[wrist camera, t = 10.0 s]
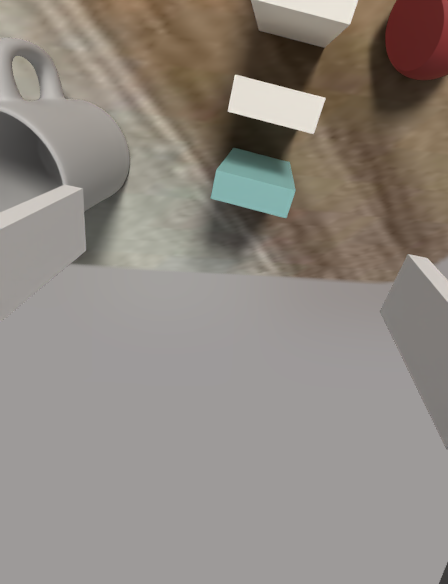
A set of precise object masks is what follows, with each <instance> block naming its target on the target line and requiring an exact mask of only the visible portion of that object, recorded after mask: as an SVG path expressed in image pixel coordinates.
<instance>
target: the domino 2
mask: <svg viewBox="0 0 448 584" xmlns="http://www.w3.org/2000/svg"><path fill="white" fill-rule="evenodd" d="M324 101H325V98H323V97H320V96H316V95H312V94H308V93H304V92H300V91H297V90H293V89H289V88H285V87H281V86H278V85H274V84H270V83H266V82H262V81H258V80H255V79H251V78H247V77H243V76H239V75H235V77H234V82H233V87H232V92H231V97H230V102H229V107H228V112H231V113H235V114H239V115H243V116H246V117H250V118H254V119H258V120H262V121H266V122H269V123H273V124H277V125H281V126H285V127H289V128H292V129H296V130H300V131H304V132H308V133H312V134H314V132H315V129H316V126H317V123H318V120H319V117H320V114H321V111H322V107H323V104H324Z"/></svg>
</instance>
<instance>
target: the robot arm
mask: <svg viewBox="0 0 448 584" xmlns="http://www.w3.org/2000/svg"><path fill="white" fill-rule="evenodd" d="M85 251H86V236H85V217H84V198H83V188H79V187H74V186H69V185H62V186H60V187H58V188H56V189H53V190H51V191H49V192H46V193H44V194H42V195H39V196H37V197H35V198H33V199H30V200H28V201H26V202H23V203H21V204H19V205H16V206H14V207H12V208H10V209H7V210H5V211H3V212H0V322H1V321H2V320H4V319H5V318H6V317H7V316H8V315H10V314H11V313H12V312H13V311H14V310H16V309H17V308H18V307H19V306H21V305H22V304H23V303H24V302H25V301H26V300H28V299H29V298H30V297H31V296H32V295H34V294H35V293H36V292H37V291H38V290H40V289H41V288H42V287H43V286H44V285H46V284H47V283H48V282H49V281H50V280H52V279H53V278H54V277H55V276H56V275H58V274H59V273H60V272H61V271H62V270H64V269H65V268H66V267H67V266H68V265H70V264H71V263H72V262H73V261H74V260H76V259H77V258H78V257H79V256H80V255H82V254H83V253H84V252H85ZM380 313H381V315H382V317H383V319H384V321H385V323H386V325H387V327H388V330H389V332H390V334H391V336H392V338H393V340H394V342H395V344H396V346H397V348H398V350H399V352H400V354H401V356H402V358H403V361H404V362H405V365H406V367H407V369H408V371H409V373H410V375H411V377H412V379H413V381H414V383H415V385H416V387H417V389H418V391H419V394H420V396H421V398H422V400H423V402H424V404H425V406H426V408H427V410H428V412H429V414H430V416H431V418H432V420H433V422H434V425H435V427H436V429H437V431H438V433H439V435H440V437H441V439H442V441H443V443H444V445H445V447H446V449H448V280H447V279H446V278H445V277H444V276H443V275H442V273H441V272H440V271H439V270H438V269H437V268H436V267H435V266H434V265H433V264H432V263H431V262H430V261H429V259H428V258H424V257H419V256H414V255H409V254H408V255H407V257H406V259H405V261H404V263H403V265H402V267H401V269H400V271H399V273H398V275H397V277H396V279H395V281H394V283H393V285H392V288H391V290H390V292H389V294H388V296H387V298H386V300H385V302H384V304H383V306H382V308H381V310H380ZM439 584H448V563H447V566H446V568H445V570H444V573H443V575H442V578H441V580H440V583H439Z"/></svg>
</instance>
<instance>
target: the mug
mask: <svg viewBox="0 0 448 584" xmlns="http://www.w3.org/2000/svg"><path fill="white" fill-rule="evenodd" d="M15 56H22V57H24V58H25V59H27V60H28V61H29V62H30V63H31V64H32V66H33V67H34V69H35V71H36V74H37V76H38V80H39V85H40V98H39V99H38V100H34V101H26V100H24V99H23V98H22V96H21V95H20V93H19V90H18V88H17V86H16V83H15V80H14V76H13V71H12V61H13V58H14V57H15ZM129 166H130V155H129V149H128V145H127V141H126V139H125V136H124V134H123V132H122V130H121V129H120V127H119V126H118V124H117V123H116V121H115V120H114V119H113V118H112V117H111V116H110V115H109V114H108V113H107V112H106V111H104V110H103V109H101V108H100V107H98V106H96V105H95V104H93V103H90V102H88V101H84V100H80V99H65V97H64V94H63V90H62V86H61V82H60V78H59V75H58V72H57V69H56V66H55V64H54V62H53V60H52V58H51V57H50V55H49V54H48V53H47V52H46V51H45V50H44V49H42V48H41V47H39V46H38V45H36V44H34V43H32V42H29V41H27V40H23V39H18V38H10V37H8V38H0V212H3V211H5V210H7V209H10V208H12V207H14V206H16V205H19V204H21V203H23V202H26V201H28V200H30V199H33V198H35V197H37V196H39V195H42V194H44V193H46V192H49V191H51V190H53V189H56V188H58V187H60V186H62V185H69V186H74V187H79V188H83V198H84V212H85V211H86V210H88V209H89V208H91V207H93V206H94V205H96V204H98V203H99V202H101V201H103V200H105V199H106V198H108V197H110V196H112V195H113V194H114V193H116V192H117V191H118V190H119V189H120V188H121V187H122V185H123V184H124V182H125V180H126V178H127V175H128V172H129Z"/></svg>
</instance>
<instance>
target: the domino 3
mask: <svg viewBox="0 0 448 584" xmlns="http://www.w3.org/2000/svg"><path fill="white" fill-rule="evenodd" d="M294 194H295V186H294V181H293V176H292V171H291V166H290V162H287V161H283V160H279V159H276V158H272V157H268V156H264V155H260V154H257V153H253V152H249V151H245V150H241V149H237V148H233V149H232V150H231V152H230V153H229V154H228V155H227V157H226V158H225V159H224V161H223V162H222V163H221V165H220V166H219V167H218V168H217V170H216V174H215V179H214V184H213V189H212V194H211V199H214V200H218V201H222V202H226V203H230V204H233V205H237V206H241V207H245V208H249V209H253V210H256V211H260V212H264V213H268V214H272V215H275V216H279V217H283V218H287V215H288V212H289V209H290V206H291V203H292V200H293V197H294Z"/></svg>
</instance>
